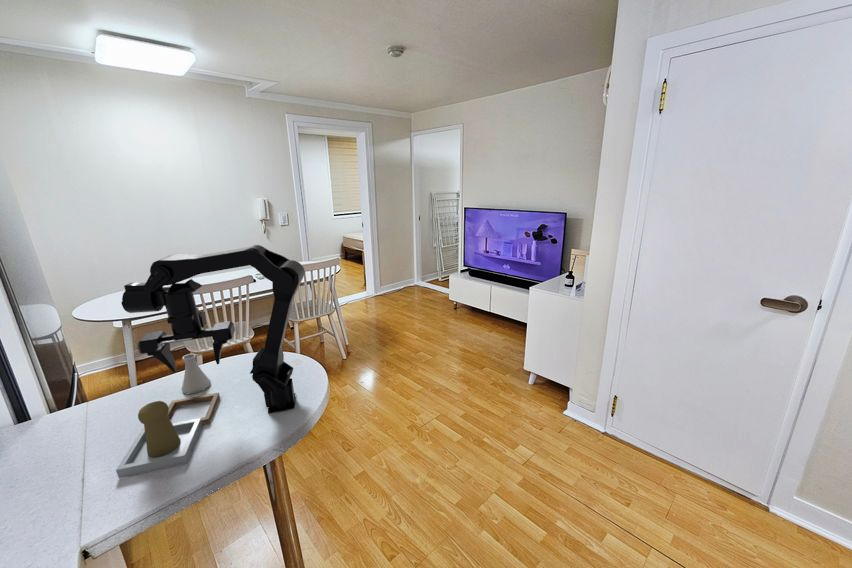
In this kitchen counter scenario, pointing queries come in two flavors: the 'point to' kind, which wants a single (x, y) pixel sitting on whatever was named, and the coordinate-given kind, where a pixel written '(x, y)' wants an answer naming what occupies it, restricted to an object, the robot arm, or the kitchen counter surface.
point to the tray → (142, 463)
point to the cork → (158, 429)
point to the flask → (193, 376)
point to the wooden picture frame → (193, 400)
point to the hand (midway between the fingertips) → (197, 367)
